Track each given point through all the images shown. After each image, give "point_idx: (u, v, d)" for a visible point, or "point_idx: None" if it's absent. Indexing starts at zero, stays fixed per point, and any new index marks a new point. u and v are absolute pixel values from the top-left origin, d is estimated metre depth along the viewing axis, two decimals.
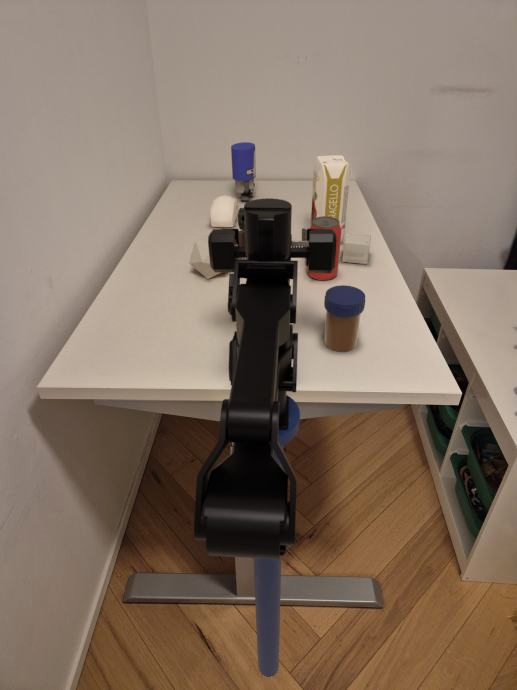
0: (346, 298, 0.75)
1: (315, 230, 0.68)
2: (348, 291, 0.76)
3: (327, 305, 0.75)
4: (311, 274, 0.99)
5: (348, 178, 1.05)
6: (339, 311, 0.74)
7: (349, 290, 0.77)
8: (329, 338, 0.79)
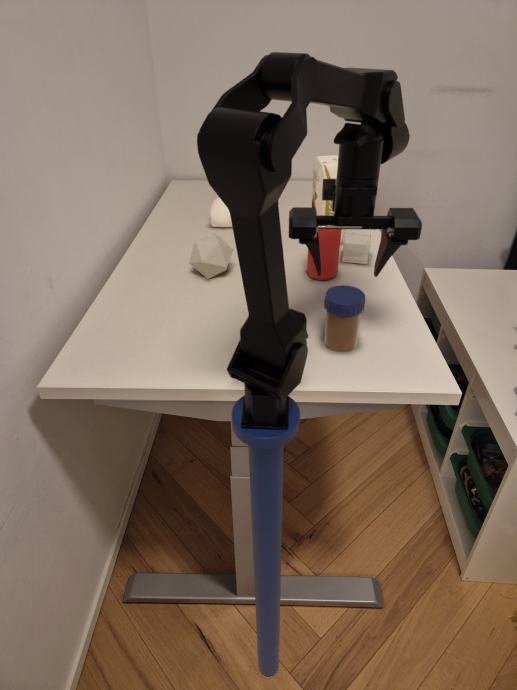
0: (346, 298, 0.75)
1: None
2: (348, 291, 0.76)
3: (327, 305, 0.75)
4: (311, 274, 0.99)
5: None
6: (339, 311, 0.74)
7: (349, 290, 0.77)
8: (329, 338, 0.79)
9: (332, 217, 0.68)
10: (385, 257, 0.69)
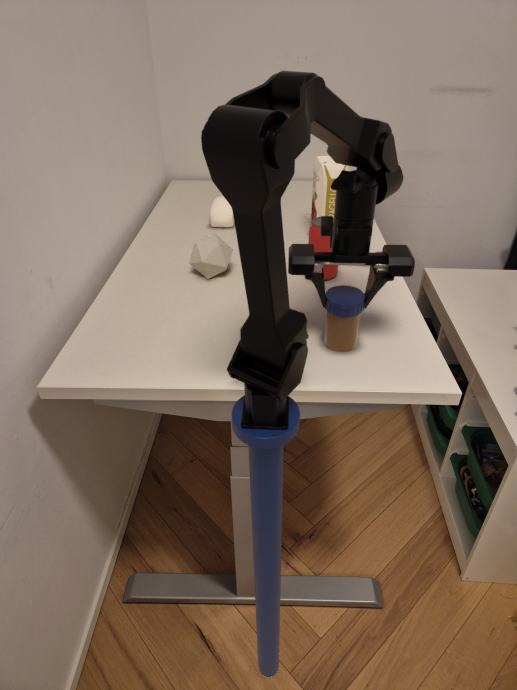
0: (346, 298, 0.75)
1: None
2: (348, 291, 0.76)
3: (327, 305, 0.75)
4: None
5: None
6: (339, 311, 0.74)
7: (349, 290, 0.77)
8: (329, 338, 0.79)
9: (329, 254, 0.71)
10: (373, 291, 0.73)
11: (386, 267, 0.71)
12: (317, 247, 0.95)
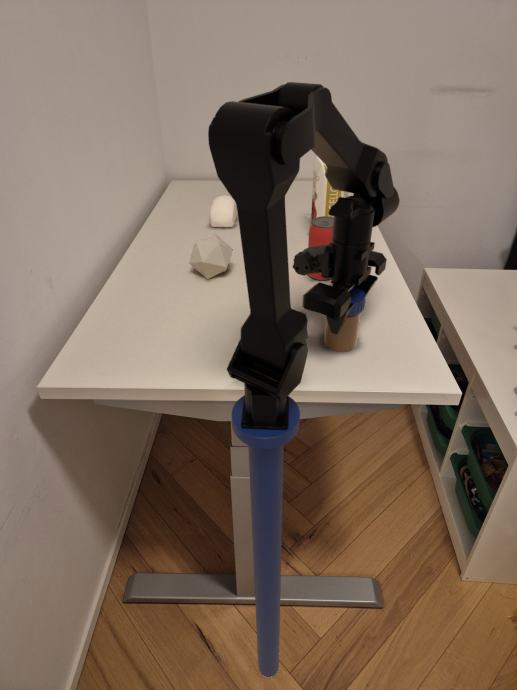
0: (351, 295, 0.75)
1: None
2: None
3: None
4: (311, 274, 0.99)
5: None
6: (359, 309, 0.74)
7: None
8: (329, 338, 0.79)
9: (340, 283, 0.71)
10: None
11: None
12: None
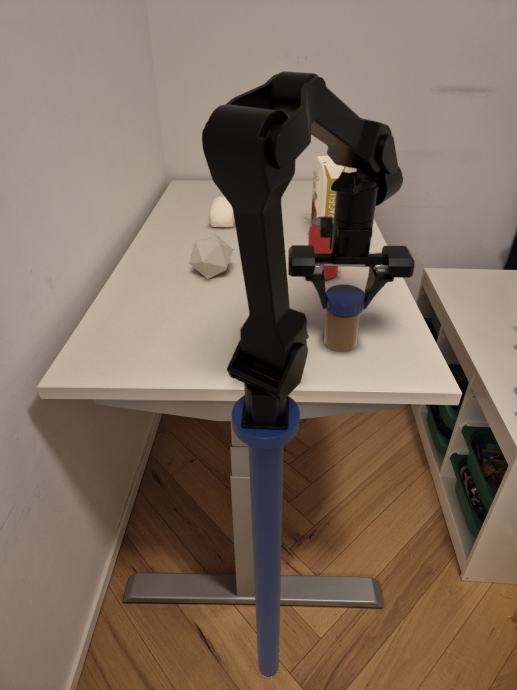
0: (351, 295, 0.75)
1: None
2: (340, 290, 0.76)
3: (345, 310, 0.73)
4: None
5: None
6: (359, 309, 0.74)
7: (339, 289, 0.77)
8: (329, 338, 0.79)
9: (329, 255, 0.71)
10: (373, 292, 0.73)
11: (386, 268, 0.71)
12: (317, 247, 0.95)
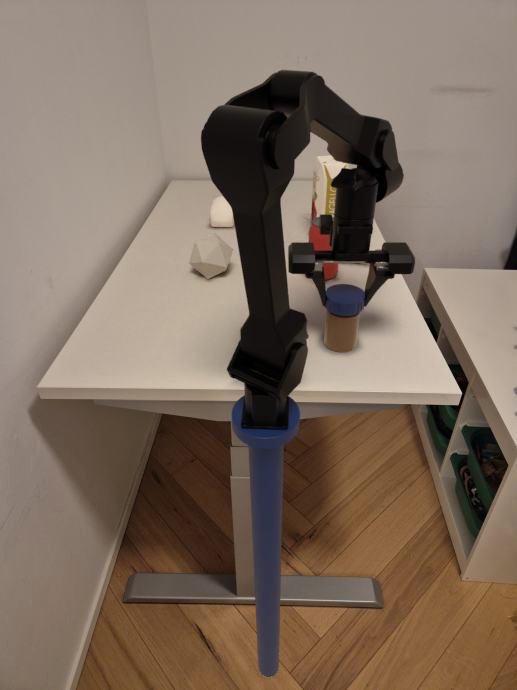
0: (350, 291, 0.76)
1: None
2: (337, 293, 0.75)
3: (362, 305, 0.74)
4: None
5: None
6: None
7: (334, 293, 0.75)
8: (329, 339, 0.78)
9: (330, 252, 0.71)
10: (373, 289, 0.72)
11: (386, 265, 0.71)
12: (317, 247, 0.95)
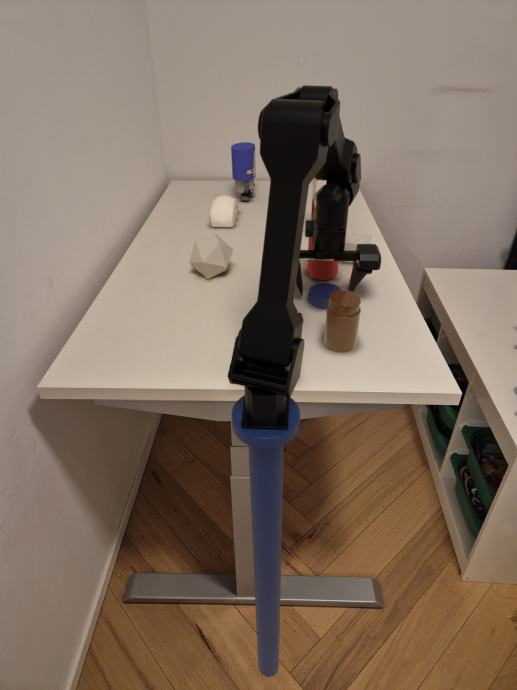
0: (330, 289, 0.91)
1: None
2: (318, 290, 0.91)
3: None
4: (311, 274, 0.99)
5: None
6: None
7: (316, 290, 0.91)
8: (329, 339, 0.78)
9: (312, 251, 0.86)
10: (355, 282, 0.88)
11: None
12: None
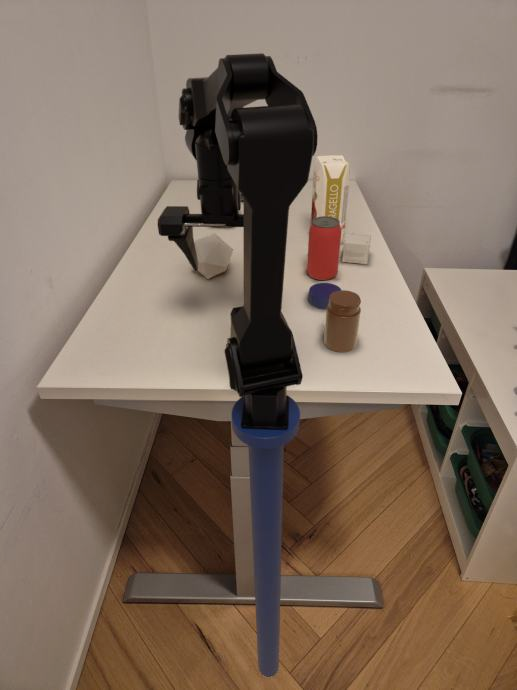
0: (330, 289, 0.91)
1: None
2: (318, 290, 0.91)
3: None
4: (311, 274, 0.99)
5: (348, 178, 1.05)
6: None
7: (316, 290, 0.91)
8: (329, 339, 0.78)
9: (200, 215, 0.72)
10: None
11: None
12: (317, 247, 0.95)
